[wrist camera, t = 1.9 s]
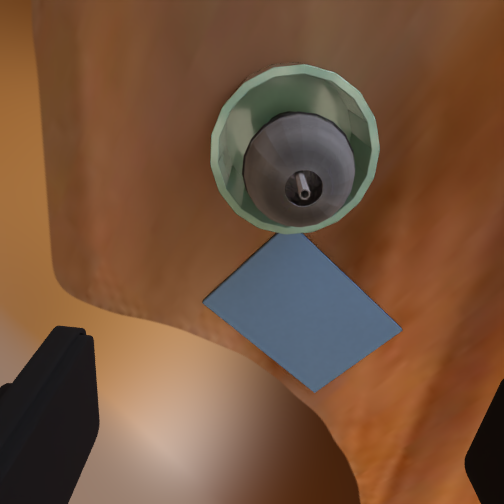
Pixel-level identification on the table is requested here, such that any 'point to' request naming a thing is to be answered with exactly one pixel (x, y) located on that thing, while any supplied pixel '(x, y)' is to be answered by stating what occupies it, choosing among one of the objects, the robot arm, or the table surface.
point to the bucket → (296, 100)
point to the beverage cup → (299, 169)
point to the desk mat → (301, 310)
